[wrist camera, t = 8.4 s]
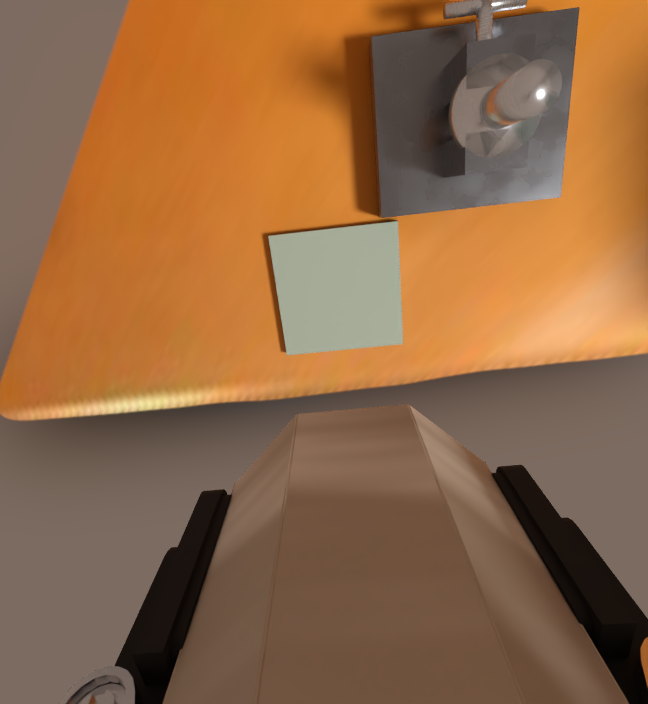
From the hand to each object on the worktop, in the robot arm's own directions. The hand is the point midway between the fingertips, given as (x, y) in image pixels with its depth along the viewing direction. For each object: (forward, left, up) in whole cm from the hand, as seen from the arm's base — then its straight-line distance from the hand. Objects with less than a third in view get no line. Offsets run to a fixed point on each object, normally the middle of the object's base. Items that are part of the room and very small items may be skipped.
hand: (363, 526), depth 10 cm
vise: (-11, -12, -28) cm, 32 cm away
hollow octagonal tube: (0, 0, 0) cm, 0 cm away
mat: (0, 0, -28) cm, 28 cm away
